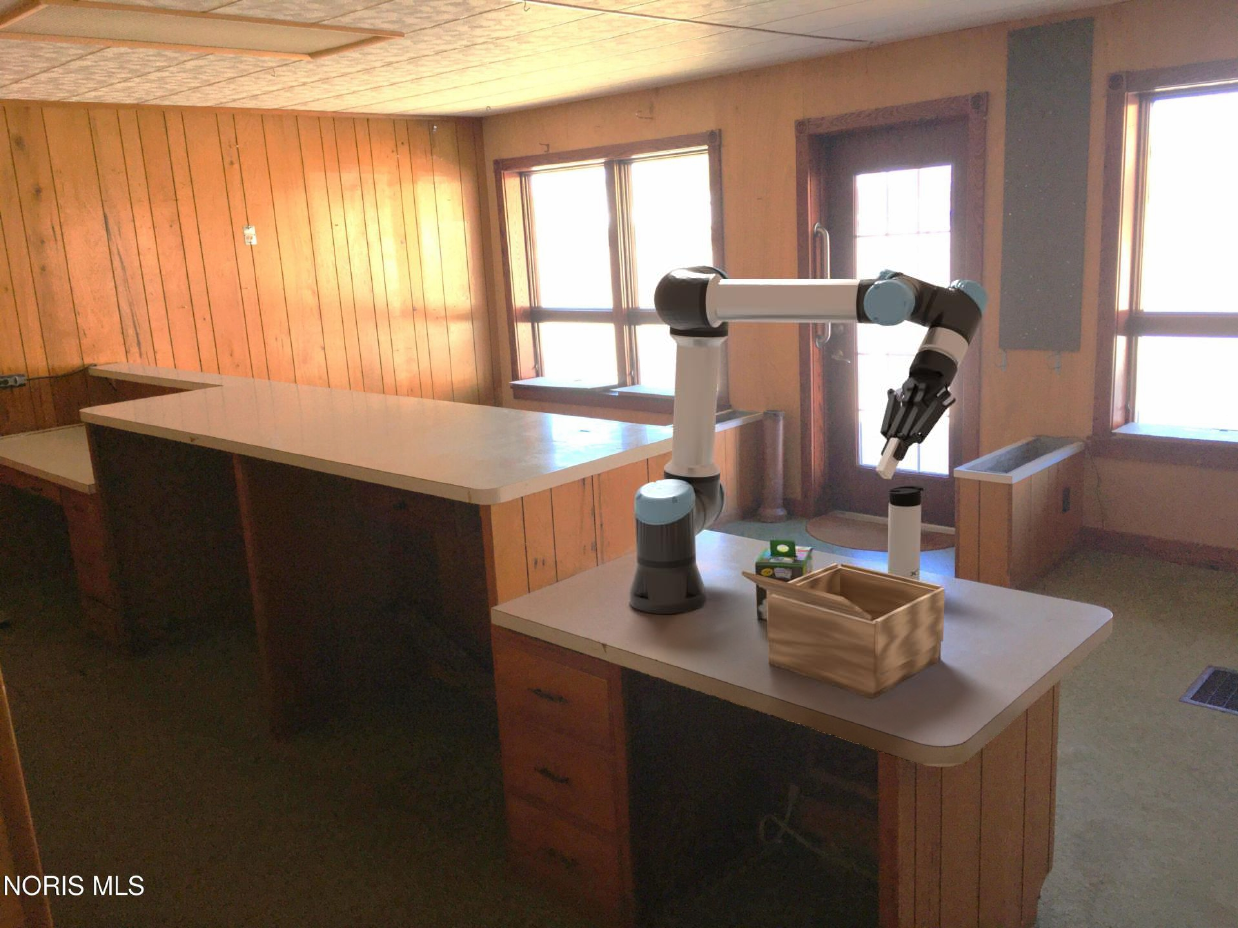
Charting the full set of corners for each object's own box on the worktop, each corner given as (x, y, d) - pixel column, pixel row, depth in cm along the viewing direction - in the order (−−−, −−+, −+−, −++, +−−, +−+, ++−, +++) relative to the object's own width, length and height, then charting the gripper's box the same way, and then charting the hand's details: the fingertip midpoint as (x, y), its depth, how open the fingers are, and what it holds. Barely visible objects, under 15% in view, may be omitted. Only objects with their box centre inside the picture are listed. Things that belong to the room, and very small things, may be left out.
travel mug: (922, 588, 199) (924, 490, 195) (888, 587, 200) (889, 490, 196) (919, 578, 205) (922, 483, 201) (886, 577, 206) (888, 483, 202)
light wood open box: (876, 699, 151) (877, 621, 149) (765, 662, 167) (765, 591, 164) (945, 658, 165) (947, 586, 162) (837, 627, 180) (838, 561, 178)
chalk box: (812, 607, 191) (812, 532, 188) (805, 624, 183) (804, 546, 180) (764, 603, 194) (763, 530, 191) (755, 620, 186) (754, 543, 183)
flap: (870, 620, 150) (841, 600, 144) (771, 592, 163) (741, 574, 157) (871, 616, 150) (843, 597, 144) (772, 589, 163) (742, 570, 157)
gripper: (980, 373, 171) (926, 490, 164) (916, 372, 181) (864, 482, 175) (959, 347, 166) (903, 466, 160) (896, 348, 177) (841, 459, 171)
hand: (883, 474), depth 167 cm, fingers closed
